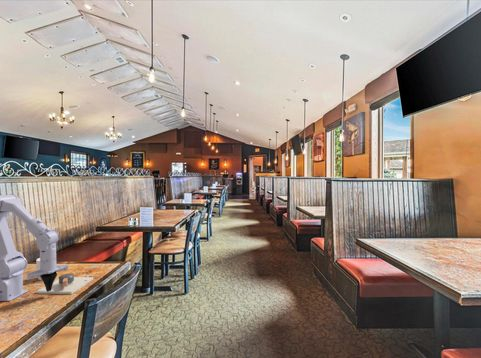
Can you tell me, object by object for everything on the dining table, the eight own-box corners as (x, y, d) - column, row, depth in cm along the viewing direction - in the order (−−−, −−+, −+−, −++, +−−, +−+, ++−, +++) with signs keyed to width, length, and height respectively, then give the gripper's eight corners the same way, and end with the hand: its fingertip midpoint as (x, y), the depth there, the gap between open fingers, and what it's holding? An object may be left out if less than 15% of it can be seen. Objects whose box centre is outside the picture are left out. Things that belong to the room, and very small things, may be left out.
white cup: (59, 275, 136) (59, 256, 136) (46, 281, 128) (46, 261, 128) (45, 274, 137) (45, 255, 137) (32, 280, 129) (31, 260, 129)
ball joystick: (59, 280, 124) (59, 274, 124) (74, 277, 127) (74, 272, 127) (56, 288, 116) (56, 282, 115) (72, 285, 118) (72, 280, 118)
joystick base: (71, 294, 115) (71, 289, 115) (36, 293, 115) (36, 288, 115) (93, 279, 131) (93, 275, 131) (62, 278, 131) (62, 274, 131)
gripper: (29, 266, 105) (30, 299, 105) (70, 257, 116) (70, 287, 116) (25, 262, 109) (25, 294, 109) (65, 253, 120) (65, 283, 121)
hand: (48, 290), depth 113 cm, fingers closed
